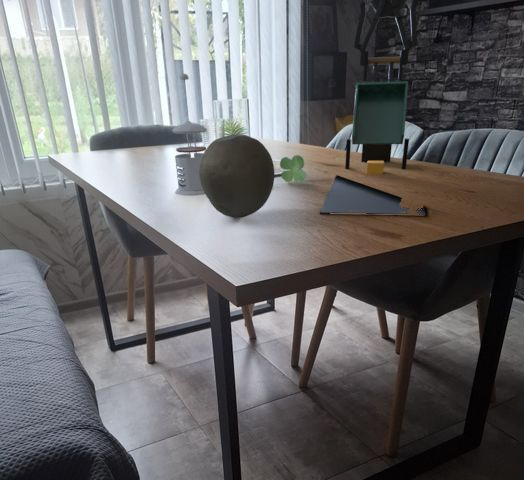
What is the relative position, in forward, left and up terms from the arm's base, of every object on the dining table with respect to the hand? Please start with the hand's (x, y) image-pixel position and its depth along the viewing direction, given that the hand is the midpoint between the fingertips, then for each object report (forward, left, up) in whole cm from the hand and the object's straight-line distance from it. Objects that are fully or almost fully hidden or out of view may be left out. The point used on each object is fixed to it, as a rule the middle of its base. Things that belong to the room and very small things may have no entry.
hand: (382, 80), depth 125 cm
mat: (-26, +16, -22) cm, 38 cm away
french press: (-3, +52, -22) cm, 57 cm away
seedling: (-3, +25, -22) cm, 34 cm away
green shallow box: (-2, +1, -6) cm, 6 cm away
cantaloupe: (-34, +50, -22) cm, 65 cm away
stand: (-2, +1, -22) cm, 22 cm away
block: (-14, +9, -20) cm, 26 cm away
